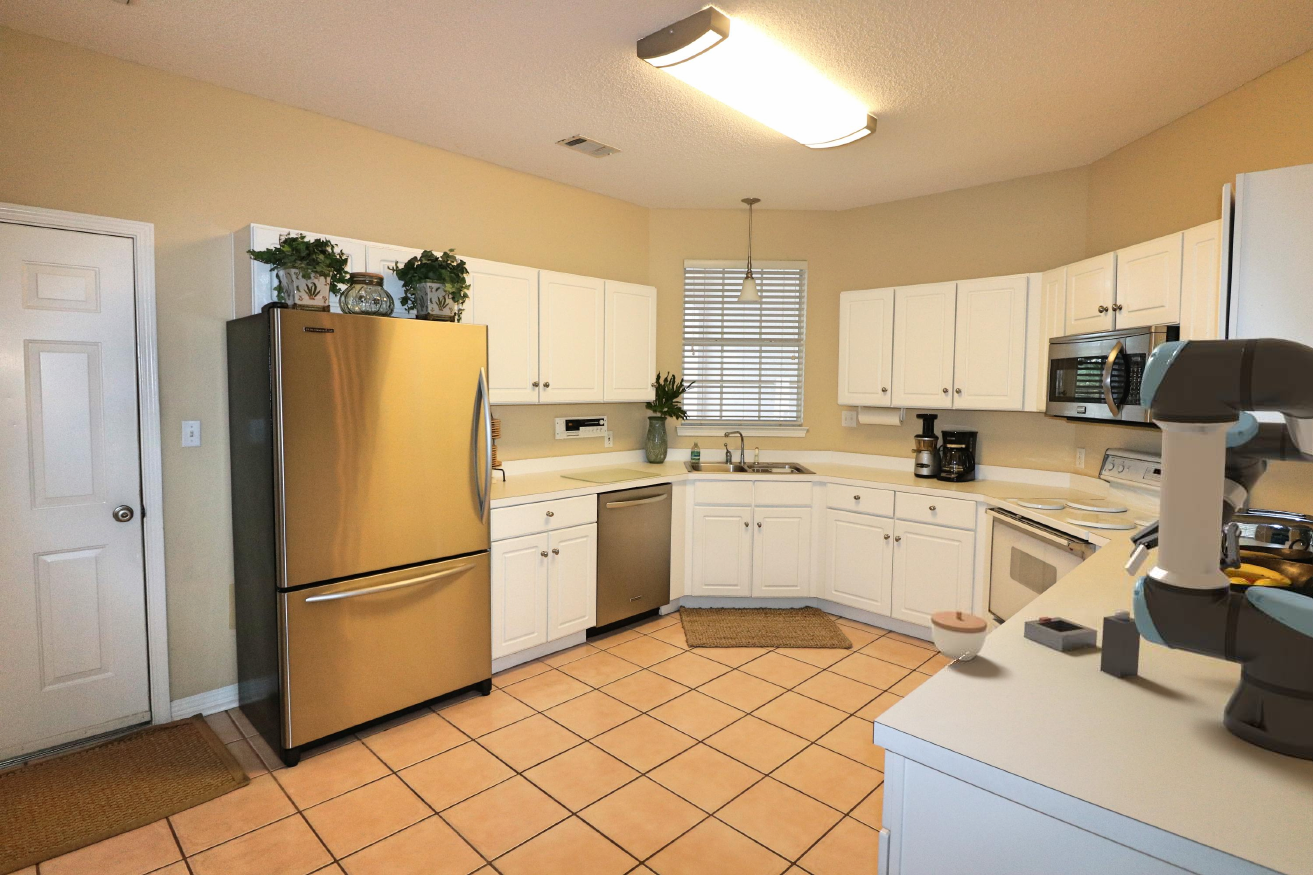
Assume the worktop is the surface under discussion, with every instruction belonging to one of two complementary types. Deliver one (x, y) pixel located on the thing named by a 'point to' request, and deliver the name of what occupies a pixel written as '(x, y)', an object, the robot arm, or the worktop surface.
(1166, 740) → the worktop surface
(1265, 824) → the worktop surface
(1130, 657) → the plug
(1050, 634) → the socket
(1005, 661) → the worktop surface
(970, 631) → the lidded jar
